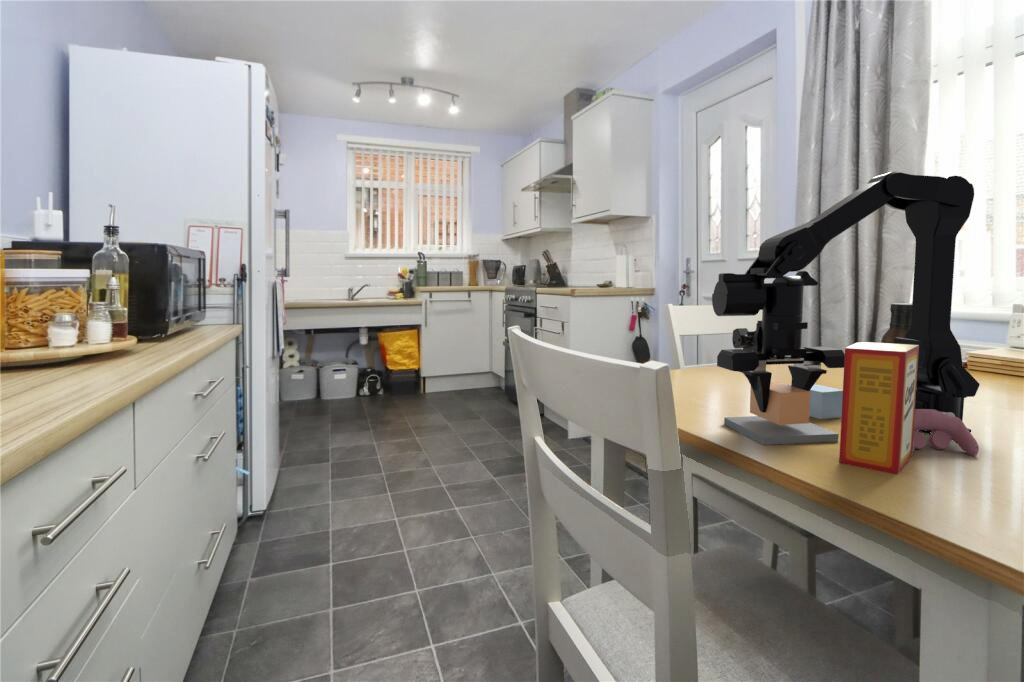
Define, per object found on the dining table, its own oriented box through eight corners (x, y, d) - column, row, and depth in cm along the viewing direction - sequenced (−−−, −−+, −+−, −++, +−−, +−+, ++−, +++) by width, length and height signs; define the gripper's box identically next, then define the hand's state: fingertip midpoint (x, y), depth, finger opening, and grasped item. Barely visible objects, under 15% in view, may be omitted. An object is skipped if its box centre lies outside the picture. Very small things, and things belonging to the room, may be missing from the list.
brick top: (807, 407, 103) (808, 382, 102) (843, 417, 95) (844, 390, 94) (786, 409, 101) (787, 384, 101) (820, 420, 94) (822, 392, 93)
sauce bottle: (869, 406, 102) (875, 303, 100) (882, 401, 106) (887, 302, 104) (909, 412, 97) (916, 304, 95) (920, 407, 101) (927, 303, 99)
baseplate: (789, 421, 92) (790, 414, 92) (838, 441, 81) (838, 433, 80) (724, 424, 91) (724, 417, 91) (763, 445, 79) (763, 437, 79)
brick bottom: (777, 411, 90) (778, 382, 89) (809, 423, 82) (810, 391, 82) (749, 412, 89) (750, 383, 89) (779, 424, 81) (780, 393, 81)
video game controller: (961, 459, 76) (949, 412, 79) (985, 455, 72) (971, 404, 75) (889, 458, 77) (878, 411, 80) (908, 454, 73) (896, 404, 75)
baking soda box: (857, 446, 78) (862, 339, 76) (911, 456, 73) (919, 342, 72) (839, 462, 71) (845, 345, 70) (897, 474, 67) (905, 349, 65)
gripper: (804, 311, 93) (801, 398, 94) (702, 313, 91) (700, 402, 93) (851, 314, 82) (846, 413, 83) (735, 317, 80) (733, 418, 82)
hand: (778, 411), depth 86 cm, fingers closed on brick bottom, 5 cm apart
